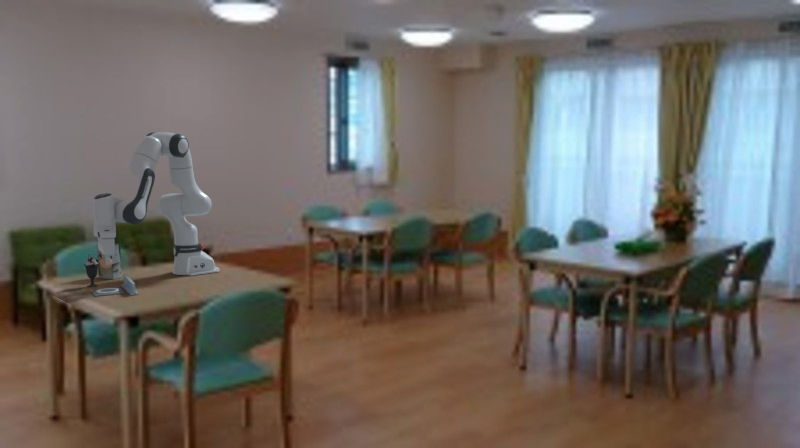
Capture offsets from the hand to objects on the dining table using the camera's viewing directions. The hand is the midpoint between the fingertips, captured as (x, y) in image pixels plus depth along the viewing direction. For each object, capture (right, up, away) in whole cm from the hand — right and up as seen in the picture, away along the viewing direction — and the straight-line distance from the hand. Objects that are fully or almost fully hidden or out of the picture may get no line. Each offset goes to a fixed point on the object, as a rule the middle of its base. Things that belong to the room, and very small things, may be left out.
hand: (106, 263), depth 328 cm
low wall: (+8, -12, +6) cm, 16 cm away
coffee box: (-11, -9, +34) cm, 37 cm away
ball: (0, 0, 0) cm, 0 cm away
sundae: (-12, -11, +15) cm, 22 cm away
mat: (0, -13, +2) cm, 13 cm away
